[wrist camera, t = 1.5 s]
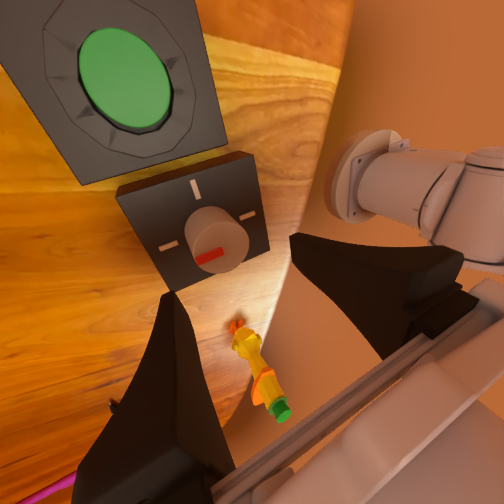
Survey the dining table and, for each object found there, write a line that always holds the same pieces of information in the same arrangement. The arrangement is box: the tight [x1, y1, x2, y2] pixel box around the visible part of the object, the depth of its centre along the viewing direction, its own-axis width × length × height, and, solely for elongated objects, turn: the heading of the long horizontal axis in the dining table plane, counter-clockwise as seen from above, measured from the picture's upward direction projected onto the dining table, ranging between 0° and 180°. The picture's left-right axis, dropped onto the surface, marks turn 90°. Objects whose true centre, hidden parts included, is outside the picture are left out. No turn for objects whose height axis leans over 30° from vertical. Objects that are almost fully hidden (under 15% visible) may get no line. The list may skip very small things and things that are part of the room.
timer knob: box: [184, 206, 249, 274], centre depth 16 cm, size 4×4×4 cm
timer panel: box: [115, 151, 270, 292], centre depth 18 cm, size 10×9×3 cm
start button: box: [79, 28, 171, 128], centre depth 10 cm, size 4×4×2 cm
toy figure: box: [229, 320, 291, 423], centre depth 24 cm, size 7×4×12 cm, turn 169°
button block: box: [0, 0, 228, 186], centre depth 12 cm, size 10×8×4 cm
